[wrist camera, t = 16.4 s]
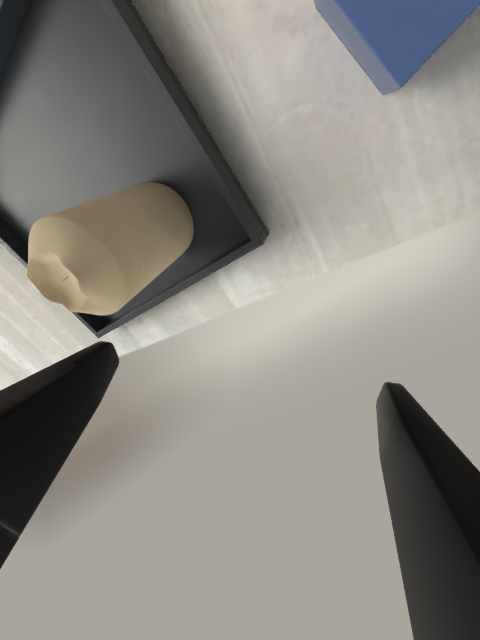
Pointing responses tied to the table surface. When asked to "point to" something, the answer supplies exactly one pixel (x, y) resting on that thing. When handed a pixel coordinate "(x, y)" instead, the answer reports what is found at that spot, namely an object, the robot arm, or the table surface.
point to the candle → (108, 247)
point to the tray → (108, 137)
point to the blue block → (394, 33)
